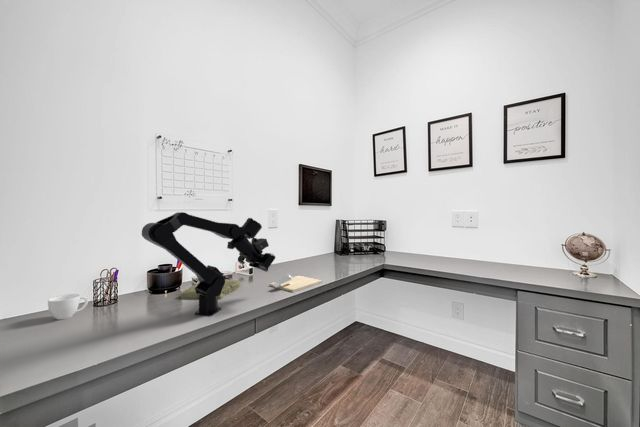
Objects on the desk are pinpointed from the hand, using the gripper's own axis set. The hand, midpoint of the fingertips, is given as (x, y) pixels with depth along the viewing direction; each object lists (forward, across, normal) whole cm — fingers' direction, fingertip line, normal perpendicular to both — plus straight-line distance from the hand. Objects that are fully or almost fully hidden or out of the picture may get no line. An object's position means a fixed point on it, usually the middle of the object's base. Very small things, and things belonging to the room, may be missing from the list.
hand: (267, 270), depth 115 cm
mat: (+20, +1, -6) cm, 21 cm away
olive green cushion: (-1, +21, +17) cm, 27 cm away
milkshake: (+10, +1, +1) cm, 10 cm away
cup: (-34, +34, +49) cm, 68 cm away
